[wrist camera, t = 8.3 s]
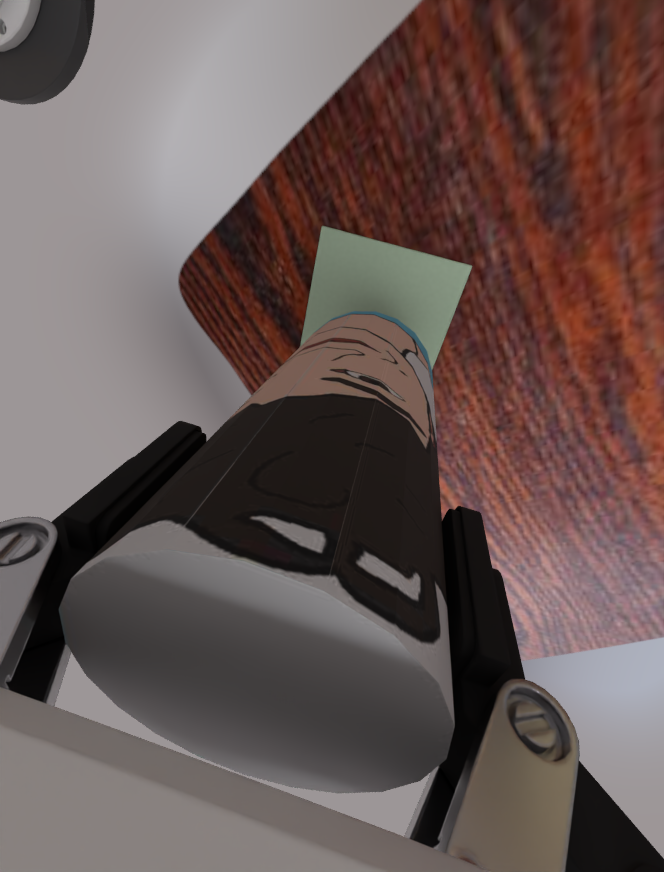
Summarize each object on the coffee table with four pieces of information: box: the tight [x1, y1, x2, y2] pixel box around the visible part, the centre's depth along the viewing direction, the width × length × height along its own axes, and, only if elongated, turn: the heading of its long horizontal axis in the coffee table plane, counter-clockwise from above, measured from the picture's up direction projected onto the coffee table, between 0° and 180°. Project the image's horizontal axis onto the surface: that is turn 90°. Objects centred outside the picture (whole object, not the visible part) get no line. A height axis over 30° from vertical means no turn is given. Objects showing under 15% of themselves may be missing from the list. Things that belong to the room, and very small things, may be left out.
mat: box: [300, 226, 472, 369], centre depth 33 cm, size 12×14×1 cm
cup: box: [59, 311, 455, 793], centre depth 13 cm, size 7×7×15 cm
